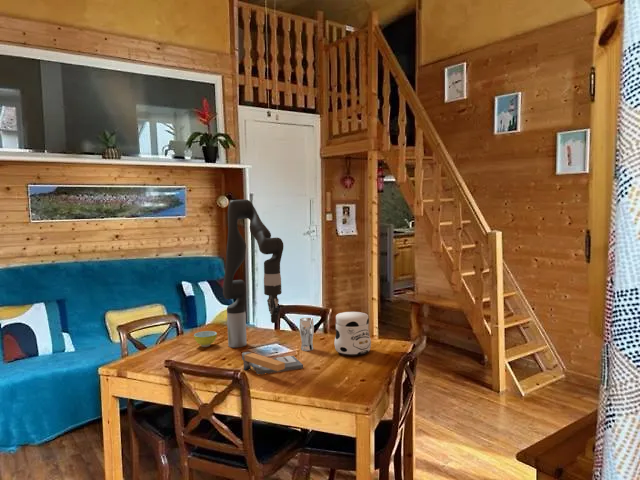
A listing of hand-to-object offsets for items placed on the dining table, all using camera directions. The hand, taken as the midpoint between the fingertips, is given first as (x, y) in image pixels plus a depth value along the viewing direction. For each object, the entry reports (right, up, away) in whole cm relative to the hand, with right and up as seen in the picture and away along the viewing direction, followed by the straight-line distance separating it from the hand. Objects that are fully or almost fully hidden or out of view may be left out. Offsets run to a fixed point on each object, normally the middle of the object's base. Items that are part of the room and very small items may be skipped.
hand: (273, 322), depth 212 cm
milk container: (+36, -17, +17) cm, 43 cm away
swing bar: (-4, -16, -10) cm, 19 cm away
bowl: (-38, -18, +34) cm, 54 cm away
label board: (+1, -19, 0) cm, 19 cm away
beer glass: (+14, -17, +24) cm, 33 cm away
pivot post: (-11, -20, -3) cm, 23 cm away
